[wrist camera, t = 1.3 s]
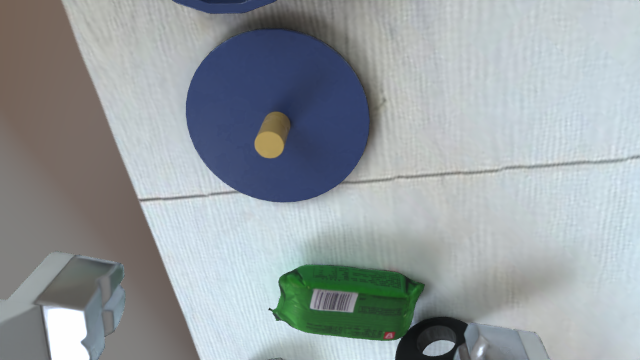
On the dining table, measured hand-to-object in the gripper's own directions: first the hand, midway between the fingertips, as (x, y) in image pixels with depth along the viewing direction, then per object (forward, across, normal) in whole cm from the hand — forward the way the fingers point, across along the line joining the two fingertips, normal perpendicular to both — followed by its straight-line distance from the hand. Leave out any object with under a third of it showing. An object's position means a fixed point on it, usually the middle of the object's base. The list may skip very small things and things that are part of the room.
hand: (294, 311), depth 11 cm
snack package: (+32, -6, +26) cm, 42 cm away
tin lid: (+31, +4, +8) cm, 32 cm away
